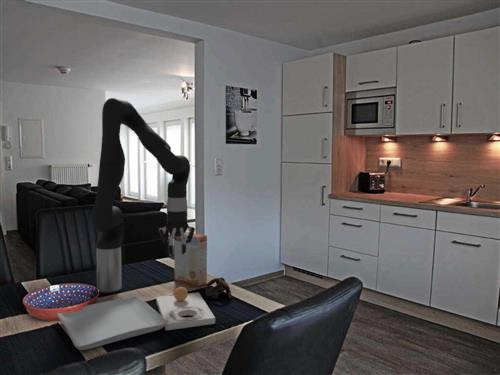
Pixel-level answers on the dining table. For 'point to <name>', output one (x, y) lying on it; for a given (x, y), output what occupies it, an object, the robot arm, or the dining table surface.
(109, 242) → the robot arm
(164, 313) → the white flat slab
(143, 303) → the square plate
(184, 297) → the ball
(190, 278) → the cracker box
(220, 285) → the brown openwork arch
